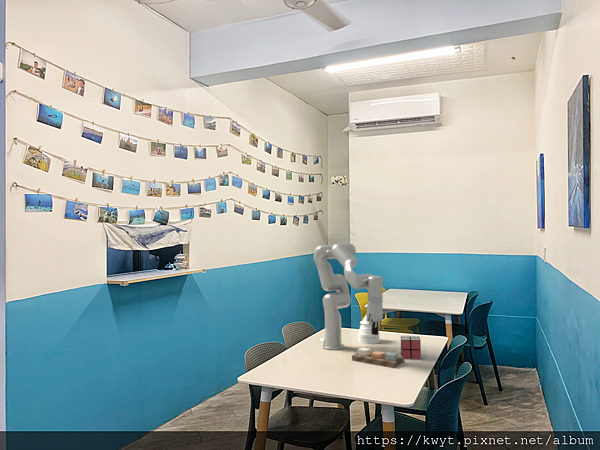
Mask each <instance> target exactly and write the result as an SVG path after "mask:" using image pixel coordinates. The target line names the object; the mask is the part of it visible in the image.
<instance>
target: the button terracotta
mask: <svg viewBox="0 0 600 450" xmlns="http://www.w3.org/2000/svg"><path fill="white" fill-rule="evenodd" d="M372 352H373V353H371V357H373V358H379V359H381V358H383V357H385V356H384V354H385V352H382V351H377V350H376V351H375V350H374V351H372Z"/></svg>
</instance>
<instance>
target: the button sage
mask: <svg viewBox="0 0 600 450" xmlns="http://www.w3.org/2000/svg"><path fill="white" fill-rule="evenodd" d="M384 354H385V360H390V361H396V360H398V359H399V357H400V356H399V353H398V352H392V351H388V352H386V353H384Z"/></svg>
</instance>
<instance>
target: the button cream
mask: <svg viewBox="0 0 600 450" xmlns="http://www.w3.org/2000/svg"><path fill="white" fill-rule="evenodd" d="M371 352H372V348H370V347H369V348H368V347H360V348H358V349H357V353H358V355H362V356H368V355H371Z"/></svg>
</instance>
